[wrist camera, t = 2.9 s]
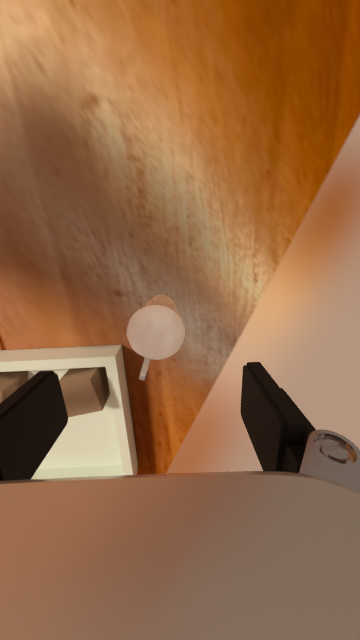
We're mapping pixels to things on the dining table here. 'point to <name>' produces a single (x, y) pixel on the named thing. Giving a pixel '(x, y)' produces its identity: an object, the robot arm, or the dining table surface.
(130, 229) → the dining table surface
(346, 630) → the robot arm
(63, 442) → the tray
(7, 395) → the walnut block
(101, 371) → the walnut block
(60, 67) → the dining table surface
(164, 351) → the milkshake
